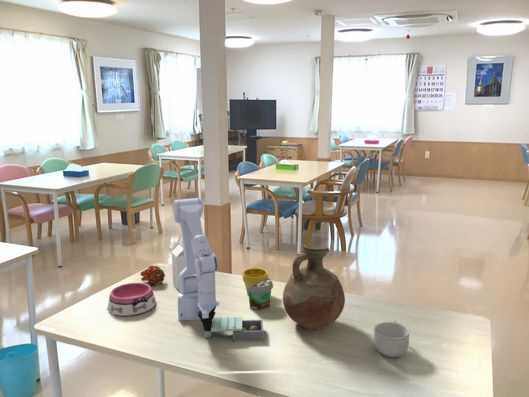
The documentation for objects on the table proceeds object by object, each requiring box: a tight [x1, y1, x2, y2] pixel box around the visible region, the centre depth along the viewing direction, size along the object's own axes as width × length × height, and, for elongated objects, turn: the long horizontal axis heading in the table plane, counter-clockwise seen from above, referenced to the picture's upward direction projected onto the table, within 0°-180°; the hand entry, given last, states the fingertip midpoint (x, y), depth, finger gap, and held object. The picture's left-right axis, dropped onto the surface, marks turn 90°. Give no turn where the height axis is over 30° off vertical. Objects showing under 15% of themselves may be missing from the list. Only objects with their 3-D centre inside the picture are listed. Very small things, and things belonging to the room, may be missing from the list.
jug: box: [282, 244, 346, 331], centre depth 157 cm, size 22×22×30 cm
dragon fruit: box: [140, 265, 166, 286], centre depth 198 cm, size 8×8×12 cm
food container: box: [246, 276, 274, 310], centre depth 173 cm, size 12×6×10 cm, turn 143°
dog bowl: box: [106, 282, 157, 318], centre depth 176 cm, size 18×19×7 cm
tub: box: [232, 319, 264, 343], centre depth 152 cm, size 10×8×4 cm
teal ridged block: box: [204, 316, 243, 338], centre depth 152 cm, size 12×8×6 cm, turn 92°
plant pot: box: [242, 267, 269, 297], centre depth 185 cm, size 10×10×10 cm
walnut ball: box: [250, 326, 258, 331], centre depth 153 cm, size 3×3×3 cm
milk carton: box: [171, 241, 194, 291], centre depth 193 cm, size 7×7×19 cm
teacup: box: [373, 319, 411, 358], centre depth 144 cm, size 14×11×8 cm
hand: (207, 328), depth 152 cm, fingers closed on teal ridged block, 3 cm apart
